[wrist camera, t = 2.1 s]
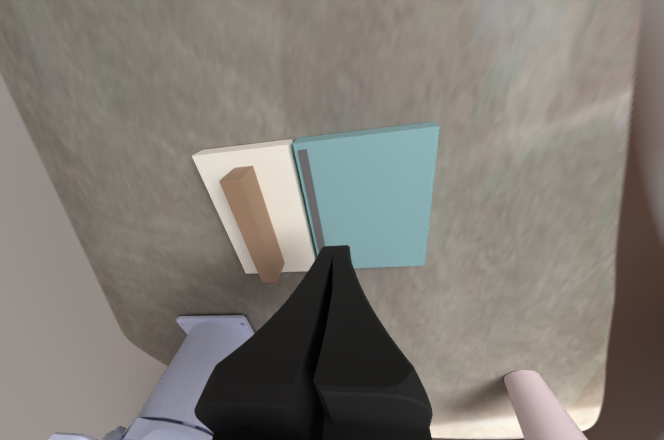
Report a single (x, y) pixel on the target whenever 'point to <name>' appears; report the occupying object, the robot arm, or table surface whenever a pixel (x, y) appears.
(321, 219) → the teal flat block
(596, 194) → the table surface
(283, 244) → the cream block with bar
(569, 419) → the smoothie
